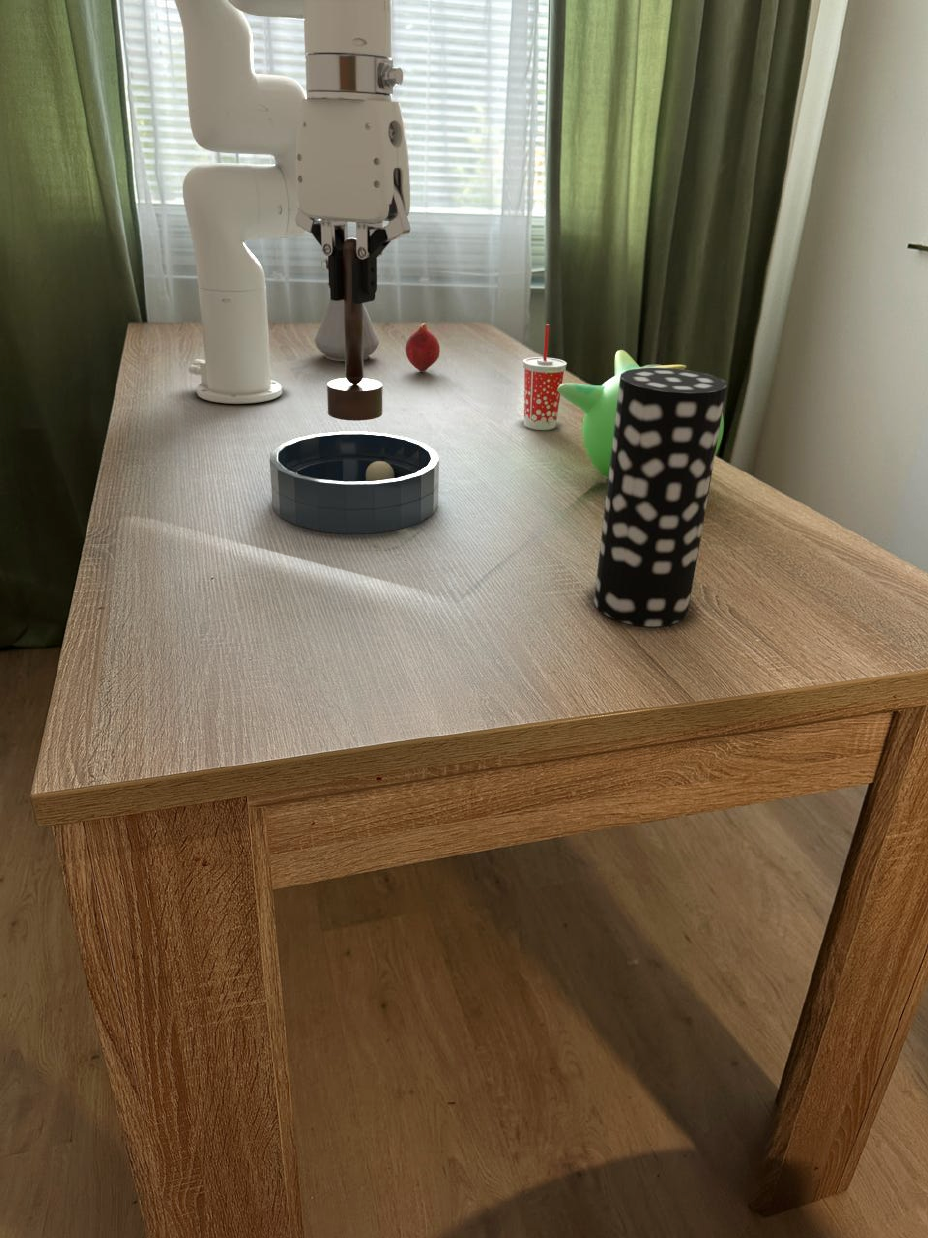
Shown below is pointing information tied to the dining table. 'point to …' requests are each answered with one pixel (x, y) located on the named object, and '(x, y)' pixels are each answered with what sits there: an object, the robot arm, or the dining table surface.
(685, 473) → the white-spotted black cylinder
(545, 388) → the beverage cup
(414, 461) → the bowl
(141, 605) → the dining table surface
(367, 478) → the cream ball
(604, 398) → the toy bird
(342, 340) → the coffee pot
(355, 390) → the brown rod with base
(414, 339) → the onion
